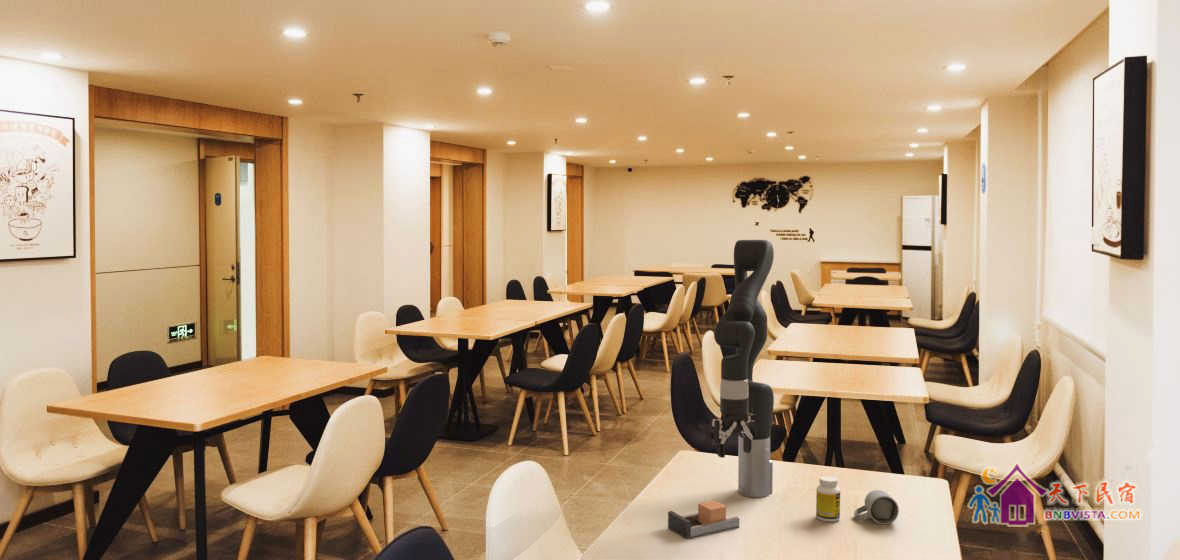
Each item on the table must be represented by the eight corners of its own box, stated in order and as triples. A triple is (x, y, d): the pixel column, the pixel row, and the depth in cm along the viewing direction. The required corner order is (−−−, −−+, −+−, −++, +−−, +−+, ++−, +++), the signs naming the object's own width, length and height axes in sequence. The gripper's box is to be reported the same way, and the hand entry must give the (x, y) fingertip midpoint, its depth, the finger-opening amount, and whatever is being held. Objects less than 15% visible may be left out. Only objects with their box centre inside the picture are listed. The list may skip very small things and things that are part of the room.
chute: (719, 516, 217) (719, 500, 216) (739, 527, 209) (739, 510, 209) (668, 528, 209) (668, 511, 208) (686, 539, 201) (686, 522, 201)
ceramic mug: (890, 514, 218) (890, 486, 217) (899, 525, 210) (899, 496, 209) (850, 513, 219) (850, 486, 218) (858, 524, 211) (858, 496, 210)
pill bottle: (840, 523, 211) (840, 483, 210) (815, 521, 213) (816, 481, 212) (839, 515, 217) (840, 476, 216) (816, 513, 219) (816, 474, 218)
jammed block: (713, 518, 214) (713, 500, 213) (725, 525, 209) (726, 506, 209) (698, 521, 211) (698, 503, 211) (710, 528, 207) (710, 509, 206)
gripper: (746, 389, 218) (746, 447, 219) (704, 395, 212) (704, 454, 213) (764, 395, 211) (764, 454, 213) (721, 400, 205) (721, 462, 206)
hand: (734, 454), depth 213 cm, fingers open, 8 cm apart
